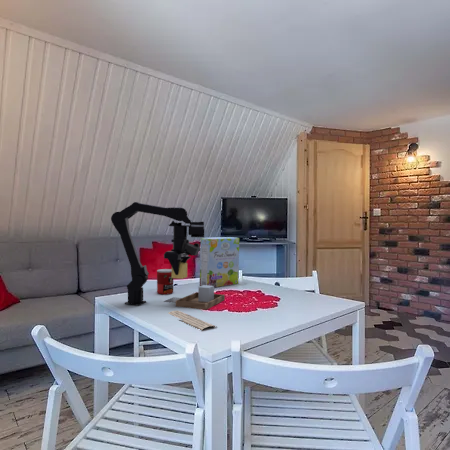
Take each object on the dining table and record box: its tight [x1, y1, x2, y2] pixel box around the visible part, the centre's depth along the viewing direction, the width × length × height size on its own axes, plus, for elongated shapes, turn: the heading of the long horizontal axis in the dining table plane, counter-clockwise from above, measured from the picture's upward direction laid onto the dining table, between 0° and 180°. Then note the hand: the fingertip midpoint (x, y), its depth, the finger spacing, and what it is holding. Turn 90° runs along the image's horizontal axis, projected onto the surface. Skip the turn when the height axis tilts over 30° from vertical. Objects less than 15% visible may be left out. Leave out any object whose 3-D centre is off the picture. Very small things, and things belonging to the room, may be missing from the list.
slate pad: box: [163, 296, 182, 304], centre depth 151 cm, size 8×8×1 cm
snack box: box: [199, 236, 240, 288], centre depth 189 cm, size 22×9×26 cm, turn 132°
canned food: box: [156, 268, 174, 295], centre depth 169 cm, size 8×8×11 cm
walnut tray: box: [175, 291, 226, 311], centre depth 147 cm, size 18×14×3 cm
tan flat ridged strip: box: [167, 310, 218, 331], centre depth 123 cm, size 24×7×2 cm, turn 37°
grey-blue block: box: [197, 285, 215, 302], centre depth 151 cm, size 5×5×6 cm
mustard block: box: [171, 262, 188, 280], centre depth 149 cm, size 5×5×6 cm
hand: (179, 273), depth 149 cm, fingers closed on mustard block, 5 cm apart
